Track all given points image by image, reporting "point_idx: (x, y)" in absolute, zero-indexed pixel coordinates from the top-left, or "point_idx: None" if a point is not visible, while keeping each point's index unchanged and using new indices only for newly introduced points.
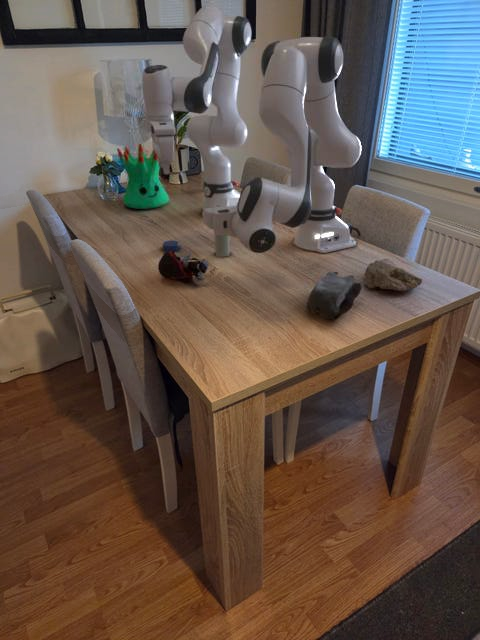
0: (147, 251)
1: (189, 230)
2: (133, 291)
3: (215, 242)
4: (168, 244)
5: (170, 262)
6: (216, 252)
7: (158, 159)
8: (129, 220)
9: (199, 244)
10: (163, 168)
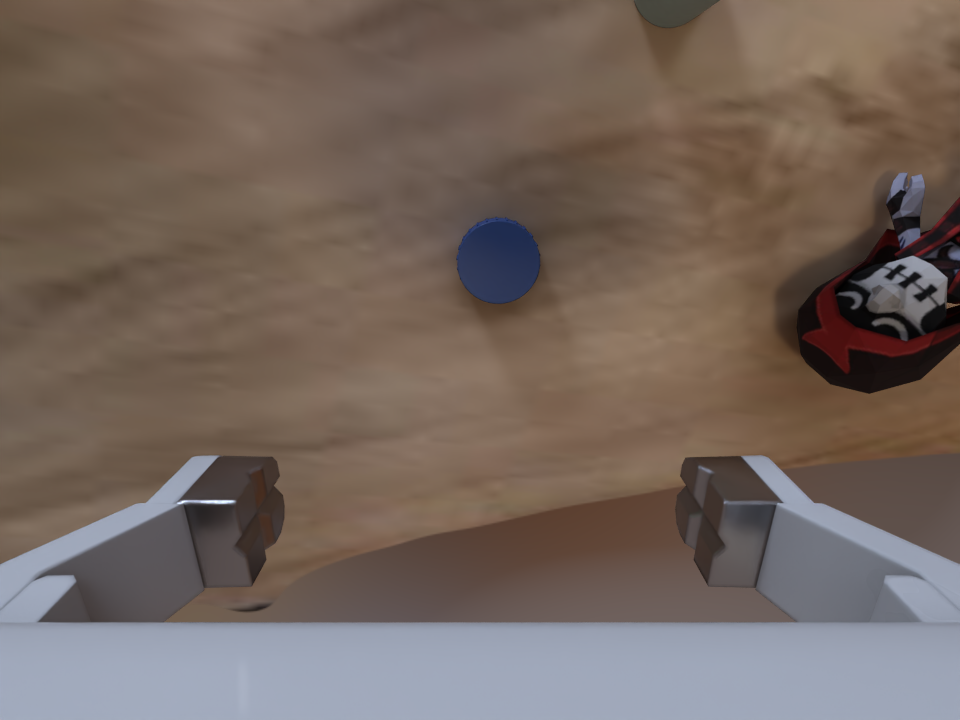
0: (492, 369)
1: (238, 93)
2: (846, 461)
3: (702, 4)
4: (511, 277)
5: (947, 354)
6: (688, 20)
7: (160, 616)
8: (40, 401)
9: (482, 86)
10: (780, 590)
